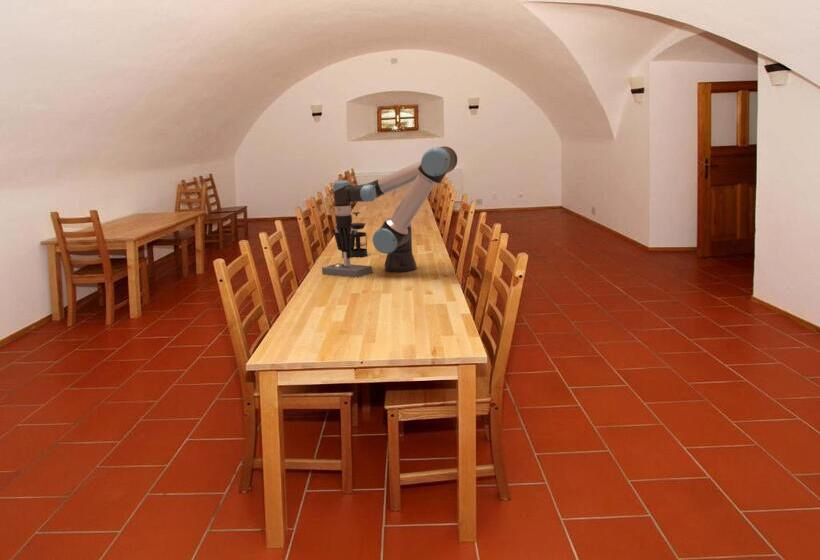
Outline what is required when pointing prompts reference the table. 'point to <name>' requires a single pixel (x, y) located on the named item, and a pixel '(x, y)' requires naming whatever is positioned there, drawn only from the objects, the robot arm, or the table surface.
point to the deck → (347, 270)
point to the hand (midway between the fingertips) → (347, 265)
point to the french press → (359, 251)
